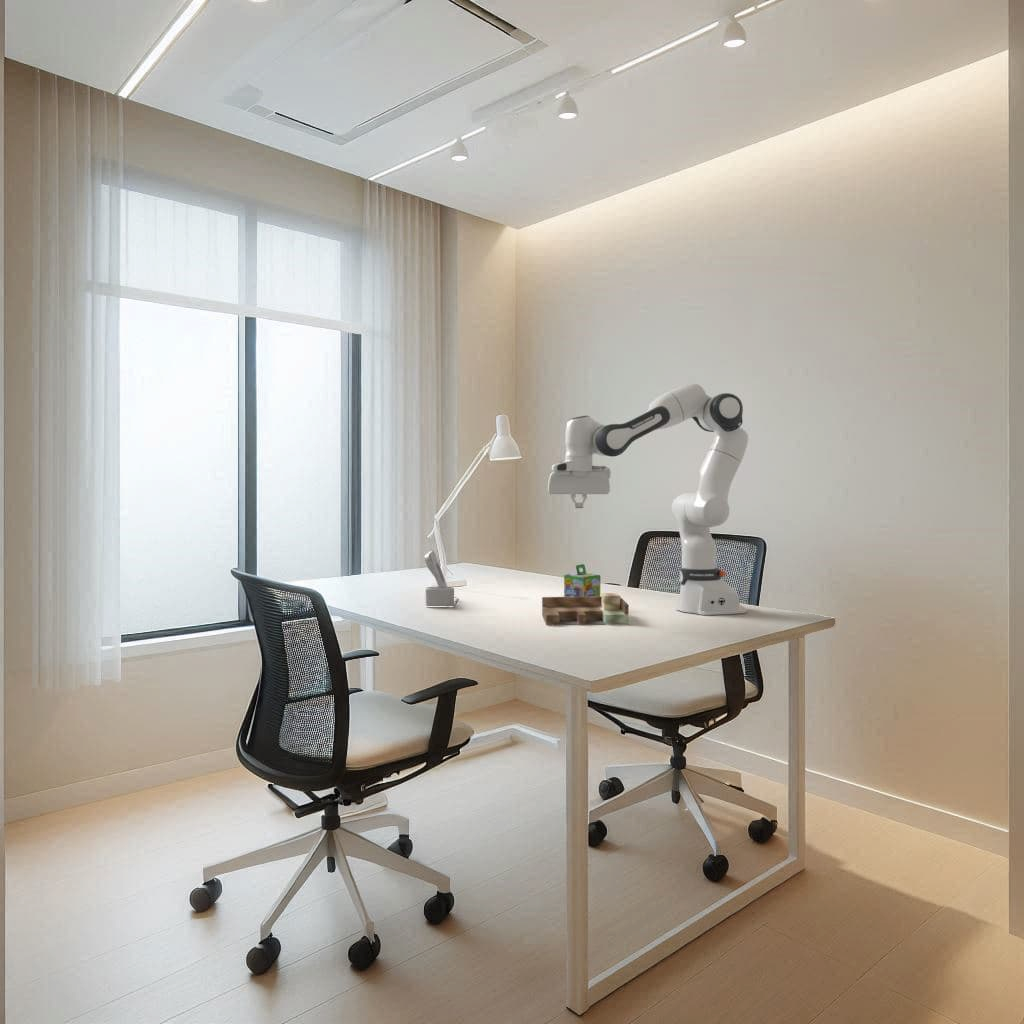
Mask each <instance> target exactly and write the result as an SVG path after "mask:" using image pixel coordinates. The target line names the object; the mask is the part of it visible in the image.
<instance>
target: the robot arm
mask: <svg viewBox="0 0 1024 1024" xmlns="http://www.w3.org/2000/svg"><path fill="white" fill-rule="evenodd" d="M743 407H744V406H743V402H742V401H741V399H740V398H739V396H736V394H733V393H731V392H730V393H729V392H728V393H727V392H725V393H719V394H717V395H714V396H713V397H711V396H709V395H708V394H707V393H706V391H705V389H704V388H703V387H702V386H701V385H700V384H697V383H694V382H692V383H689V384H685V385H681V386H677V387H676V388H674V389H671V390H669V391H667V392H665V393H663V394H661V395H659V396H658V397H657V398H655V399H654V400H652V401H650V403H649V406H648V409H647V410H646V411H645V412H643V413H642V414H641V415H638V416H636V417H634V418H632V419H631V420H628V421H627V422H623V423H612V424H607V425H605V424H603V423H601V422H598V421H597V420H595V419H594V418H592V417H591V416H589V415H581V416H577V417H576V416H575V417H572V418H570V419H569V420H568V421H567V423H566V427H565V438H564V440H565V448H566V452H565V455H564V457H565V460H564V461H559V462H558V463H555V464H552V465H551V471H552V472H551V473H550V475H549V477H548V483H547V492H548V494H550V495H570V499H571V501H572V502H573V509H584V504H585V502H586V499H587V497H588V495H608V494H610V492H611V486H610V484H611V483H610V478H611V469H610V468H609V467H607V466H606V465H593V455H594V454H595V455H598V456H603V457H604V456H605V457H606V456H607V457H618V456H620V455H622V454H623V453H624V452H625V451H626V450H627V449H628V448H629V446H630V445H631V444H632V443H633V442H634V441H636V440H638V439H640V438H642V437H644V436H646V435H648V434H650V433H652V432H654V431H656V430H663V429H664V430H665V429H668V428H672V427H673V426H674V427H675V426H676V425H679V424H681V423H683V422H684V421H687V420H689V419H691V418H692V419H693V421H694V422H695V423H696V425H698V427H699V428H700V429H701V430H703V431H705V432H708V433H709V432H710V433H713V434H714V435H713V436H714V437H713V440H712V444H711V445H710V448H709V450H708V452H707V454H706V456H705V457H704V460H703V462H702V464H701V466H700V469H699V470H698V471H699V477H700V478H699V485H698V489H697V491H696V492H695V491H694V492H693V491H690V492H689V491H688V492H684V493H682V494H679V495H677V496H676V497H675V498H674V499H673V502H672V503H671V513H672V516H673V517H674V518H675V521H676V524H677V528H678V533H679V536H680V544H681V566H680V570H679V583H680V589H679V596H678V600H677V605H676V608H675V609H676V610H677V611H680V612H684V613H689V614H697V615H702V616H712V615H713V616H714V615H715V616H717V615H734V614H735V615H736V614H737V615H738V614H746V613H747V608H746V607H745V606H743V605H741V604H740V598H739V593H738V592H737V591H736V589H734V588H732V586H730V585H729V584H728V583H727V582H725V581H724V580H723V579H722V578H723V577H724V578H725V577H726V576H727V572H726V570H724V569H721V570H720V569H719V568H718V567H717V544H716V542H715V540H714V538H713V537H712V533H711V530H710V528H713V527H714V528H715V527H719V526H721V525H723V524H724V523H726V521H727V520H728V518H729V516H730V505H729V503H728V502H729V501H728V500H729V499H728V498H729V494H730V488H731V486H732V482H733V481H734V478H735V476H736V473H737V472H738V469H739V467H740V465H741V462H742V461H743V459H744V456H745V453H746V450H747V447H748V442H749V435H748V432H747V431H746V430H745V429H744V428H742V427H741V426H742V425H743V412H744V411H743V410H744V409H743ZM576 495H581V498H582V499H581V502H577V501H576V499H575V498H576Z"/></svg>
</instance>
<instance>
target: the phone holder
mask: <svg viewBox="0 0 1024 1024" xmlns="http://www.w3.org/2000/svg"><path fill="white" fill-rule="evenodd" d="M424 561H425V564H426V566H427V569H428V570H429V571H430V573H431V575H432V576H433V577H434V579H435V581H436V584H437V586H428V587H425V605H426V606H456V605H455V604H457V603H458V601H459V596H458V597H457V596H455V588H454V587H452V586H448V585H447V582H446V579H445V576H444V574H443V570H442V568H441V564H440V562H439V560H438V557H437V555H436V553H435V551H434V550H431V551H428V552H427V553H426V554H425V555H424ZM454 598H456V599H455V601H454ZM457 600H458V601H457ZM456 602H457V603H456Z"/></svg>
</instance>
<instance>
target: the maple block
mask: <svg viewBox="0 0 1024 1024" xmlns="http://www.w3.org/2000/svg"><path fill="white" fill-rule="evenodd" d="M601 596H602V605H601V607H602V608H603V609H604V610H620V597H621V595H620V594H619V593H617V592H607V593H606V592H605V593H604V592H602V593H601Z"/></svg>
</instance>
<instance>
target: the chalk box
mask: <svg viewBox="0 0 1024 1024" xmlns="http://www.w3.org/2000/svg"><path fill="white" fill-rule="evenodd" d="M575 569H576V573H575V572H574V573H567V574H564V575H563V577H564V578H563V585H564V586H563V591H564V592H563V593H564V595H563V597H599V596H601V575H600V574H595V573H588V572H587V570H586V566H585V564H584V563H583V564H577V565H575ZM580 569H582V571H580Z"/></svg>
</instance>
